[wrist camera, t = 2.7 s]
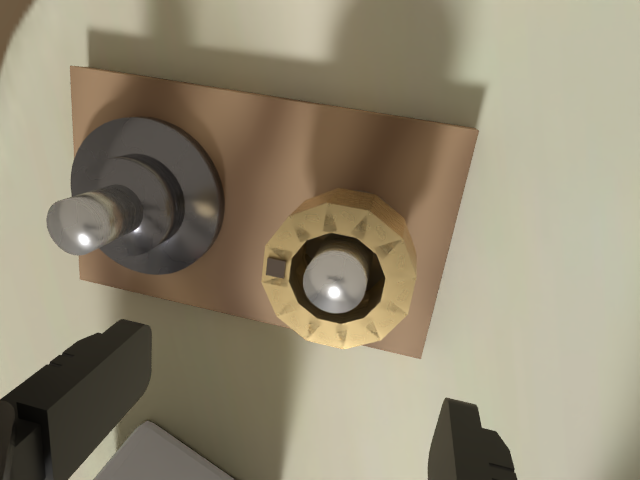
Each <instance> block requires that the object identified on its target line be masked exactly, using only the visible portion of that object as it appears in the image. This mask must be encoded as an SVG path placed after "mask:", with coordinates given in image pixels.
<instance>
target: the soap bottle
mask: <svg viewBox="0 0 640 480" xmlns="http://www.w3.org/2000/svg"><path fill="white" fill-rule="evenodd" d="M93 480H235V479H233V478H232V477H231V476H229V475H228V474H226V473H225V472H223V471H222V470H221V469H219V468H218V467H216V466H215V465H213V464H212V463H210V462H209V461H208V460H206V459H205V458H203V457H202V456H200V455H199V454H198V453H196V452H195V451H193V450H192V449H190V448H189V447H187V446H186V445H185V444H183V443H182V442H180V441H179V440H177V439H176V438H174V437H173V436H172V435H170V434H169V433H167V432H166V431H164V430H163V429H162V428H160V427H159V426H157V425H156V424H154V423H152V422H149V421H145V422H144V423H143V424H141V425H140V426H138V427H137V428H136V429H135V430H134V431H133V432H132V434H131V435H130V436H129V437H128V438H127V440H126V441H125V442H124V443H123V444H122V446H121V447H120V448H119V449H118V450H117V452H116V453H115V454H114V455H113V456H112V458H111V459H110V460H109V461H108V462H107V464H106V465H105V466H104V467H103V468H102V470H101V471H100V472H99V473H98V474H97V476H96V477H95V478H94V479H93Z"/></svg>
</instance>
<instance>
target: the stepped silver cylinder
mask: <svg viewBox="0 0 640 480" xmlns="http://www.w3.org/2000/svg"><path fill="white" fill-rule="evenodd" d="M353 191H359V192H364V193H370V192H366V191H362V190H353ZM370 194H372V193H370ZM379 198H380V197H379ZM380 199H382V198H380ZM382 200H383V199H382ZM383 201H384V200H383ZM384 202H385V203H386V204H388V203H387V202H386V201H384ZM388 205H389V204H388ZM389 206H390V205H389ZM390 207H391V206H390ZM391 208H392V207H391ZM305 259H306V262H307V264H308V267H307V269H306V270H305V273H304V277H303V287H304V291H305V293H306V295H307V297H308V299H309V300H310V301H311V302H312V303H313V304H314V305H315V306H316V307H318V308H319V309H321V310H323V311H326V312H329V313H344V312H347V311H350V310H352V309H353V308H355V307H356V306H357V305H358V304H359V303H360V302H361V300H362V299H363V297H364V294H365V291H366V290H370V289H372V287H373V286H374V285H375V284H376V283H377V282H378V281H379V280H380V279H381V278H382V277H383V276H384V273H383V270H382V267H381V265H380V262H379V259H378V257H377V255H376V254H375V253H374V252H373V251H372V250H370V249H369V248H368V247H367V246H366V245H364V244H363V243H362V242H361V241H360V240H358V239H357V238H355V237H350V236H345V235H340V234H335V233H328V234H325V235H322V236H319V237H316V238H313V239H310V240H307V245H306V252H305Z"/></svg>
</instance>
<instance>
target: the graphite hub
mask: <svg viewBox="0 0 640 480" xmlns="http://www.w3.org/2000/svg"><path fill="white" fill-rule="evenodd" d="M71 192H72V197H70V198H67V199H63V200H60V201H57V202H56V203H54V204H53V205H52V206H51V207H50V209H49V211H48V214H47V228H48V231H49V234H50V236H51V238H52V239H53V241H54V242H55V243H56V244H57V245H58V246H59V247H60V248H61V249H62V250H64V251H65V252H67V253H69V254H72V255H85V254H88V253H90V252H92V251H94V250H96V249H98V248H99V249H100V250H101V251H102V252H103V253H105V254H106V255H107V256H108V257H109V258H111V259H112V260H114V261H115V262H117V263H118V264H120V265H122V266H124V267H126V268H128V269H131V270H133V271H136V272H140V273H144V274H151V275H163V274H170V273H174V272H178V271H180V270H182V269H185V268H186V267H188V266H190V265H191V264H193V263H194V262H195V261H197V260H198V259H199V258H201V257H202V256H203V255H204V254H205V253H206V252H207V251H208V250H209V249H210V248H211V247H212V245H213V244H214V242H215V241H216V239H217V237H218V235H219V233H220V230H221V227H222V224H223V219H224V212H225V199H224V191H223V187H222V183H221V179H220V177H219V174H218V171H217V169H216V167H215V165H214V163H213V161H212V160H211V158H210V157H209V155H208V154H207V152H206V151H205V150H204V148H203V147H202V146H201V145H200V144H199V143H198V142H197V141H196V140H195V139H194V138H193V137H192V136H191V135H190V134H188V133H187V132H186V131H184V130H183V129H181V128H179V127H178V126H176V125H174V124H172V123H170V122H167V121H165V120H161V119H157V118H153V117H144V116H143V117H128V118H120V119H115V120H112V121H109V122H107V123H104V124H102V125H101V126H99V127H97V128H96V129H95V130H93V131H92V132H91V133H90V134H89V135H88V136H87V137H86V138H85V140H84V141H83V142H82V144H81V145H80V147H79V149H78V151H77V153H76V156H75V158H74V162H73V166H72V172H71Z"/></svg>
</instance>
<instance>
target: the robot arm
mask: <svg viewBox="0 0 640 480" xmlns="http://www.w3.org/2000/svg"><path fill="white" fill-rule="evenodd" d="M151 350H152V332H151V328H150V326H148V325H145V324H140V323H136V322H132V321H128V320H124V319H122V320H119V321H118V322H116V323H115V324H114V325H113V326H111V327H110V328H109V329H108V330H106V331H105V332H104V333H103V334H101V333H96V334H94V335H91V336H89V337H86V338H84V339H81V340H79V341H77V342H76V343H75V344H73V345H72V346H71V347H69V348H68V349H67V350H65V351H64V352H63V354H62V355H59V356H57V357H56V358H55V359H53V360H52V361H51V362H50V364H49V365H45V366H44V367H43V368H41V369H40V370H39V371H37V372H36V373H35V374H33V375H32V376H31V377H29V378H28V379H27V380H25V381H24V382H23V383H22V384H20V385H19V386H18V387H16V388H15V389H14V390H12V391H11V392H10V393H8V394H7V395H6V396H4V397H3V398H2V399H0V480H68V479H69V478H70V477H71V476H72V474H73V473H74V472H75V471H76V470H77V469H78V468H79V466H80V465H81V464H82V463H83V462H84V461H85V460H86V459H87V457H88V456H89V455H90V454H91V453H92V452H93V451H94V449H95V448H96V447H97V446H98V445H99V444H100V443H101V442H102V440H103V439H104V438H105V437H106V436H107V435H108V434H109V432H110V431H111V430H112V429H113V428H114V427H115V426H116V425H117V423H118V422H119V421H120V420H121V419H122V418H123V417H124V415H125V414H126V413H127V412H128V411H129V410H130V409H131V408H132V406H133V405H134V404H135V403H136V402H137V401H138V400H139V398H140V397H141V396H142V395H143V394H144V392H145V390H146V388H147V386H148V384H149V381H150V377H151ZM428 480H517V477H516V473H514V465H513V462H512V458H511V454H510V450H509V449H508V447H507V446H506V444H505V443H504V442H503V440H502V439H501V437H500V436H499V435H498V433H497V432H496V431H492V430H488V429H484V428H482V427H481V422H480V417H479V412H478V407H477V405H475V404H471V403H467V402H463V401H459V400H454V399H450V398H445V399H444V402H443V404H442V408H441V411H440V415H439V418H438V422H437V425H436V429H435V432H434V436H433V439H432V443H431V447H430V452H429V459H428Z"/></svg>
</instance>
